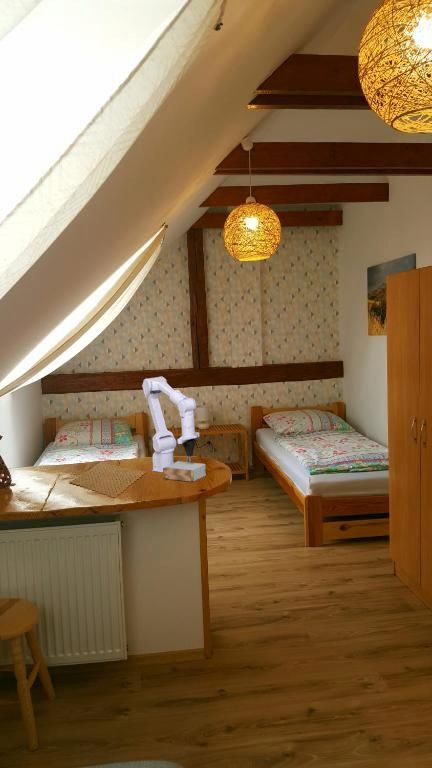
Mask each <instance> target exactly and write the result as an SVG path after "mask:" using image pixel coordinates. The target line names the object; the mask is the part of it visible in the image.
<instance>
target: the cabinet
mask: <svg viewBox="0 0 432 768" xmlns="http://www.w3.org/2000/svg"><path fill="white" fill-rule="evenodd" d="M199 463H200V462H191V461H190V462H187V461H181V460H180V461H179V460H177V461H175V462H174V463H173V464H170V465H168V466H166V467H165V468H174V469H184V470H193V479H194V481H193V482H195V481H197V480H199V479H202V478H203V477H205V476H207V471H206V468H207V467H206V466H207V465H206V464H205V463H204V464H199Z"/></svg>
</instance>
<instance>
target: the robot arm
mask: <svg viewBox="0 0 432 768" xmlns="http://www.w3.org/2000/svg"><path fill="white" fill-rule="evenodd" d="M167 381H168V380H167V379H166V378H165V377H163V376H162V375H161V376H158V377H157V376H156V377H150V378H145V379H143V383H142V385H141V387H142V390H143V394H144V397H145V398H146V401H147V405H148V409H149V411H150V416H151V419H152V423H153V426H154V429H155V434H154V435H153V436H152V446H153V447H152V448H153V449H154V452H153V453H152V472H158V473H163V468H165V467H166V466H168V465H170V464H173V463H175V462H174V461H175V460H174V452H175V449H176V448H177V444H178V445H182V446H183V447H184V451H185V452H186V457H187V456H190V458H191V457H193V456H194V450H195V447H196V445H197V442H198V441H197V438H199V437H200V432H197V431H196V427H195V414H194V412H195V410H196V409H197V404H196V403H197V402H196V401H195V399H194V398H193V397H187V396H186V395H185V394H184V393H182V392H181V391H180V390H179V389H176V390H175V389H173V387H171V386H170V385H169V384H168V382H167ZM163 393H164V394H165V395H167V396H168V397H169V401H171V403H173V404H174V405H175V406H176V407H177V410H178V412H179V416H180V420H181V421H180V422H181V436H180V437H179V438H177V440H176V438H175V436H174V434H173V432H172V431H170V430H168V429H167V425H166V422H165V417H164V414H163V410H162V407H161V402H160V399H159V398H160V396H161V395H162V394H163Z"/></svg>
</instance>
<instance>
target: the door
mask: <svg viewBox="0 0 432 768" xmlns="http://www.w3.org/2000/svg"><path fill="white" fill-rule="evenodd" d="M162 479H165V480H174V481H183V482H184V481H185V482H191V483H192V482H195V481H194V479H193V470H184V469H174V468H163V472H162Z"/></svg>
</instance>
